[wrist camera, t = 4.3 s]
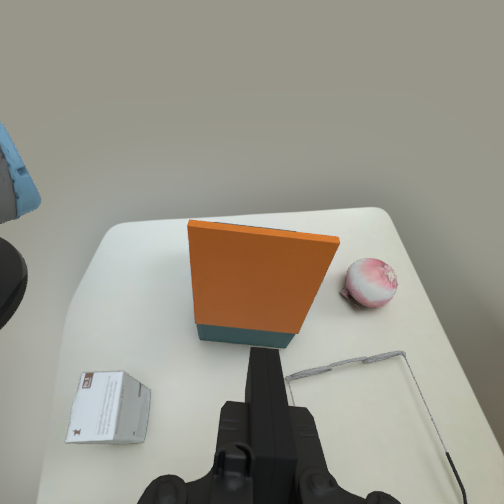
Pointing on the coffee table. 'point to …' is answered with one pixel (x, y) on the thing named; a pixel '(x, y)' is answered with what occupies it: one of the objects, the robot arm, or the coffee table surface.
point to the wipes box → (244, 332)
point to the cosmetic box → (109, 409)
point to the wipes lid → (256, 275)
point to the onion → (370, 283)
